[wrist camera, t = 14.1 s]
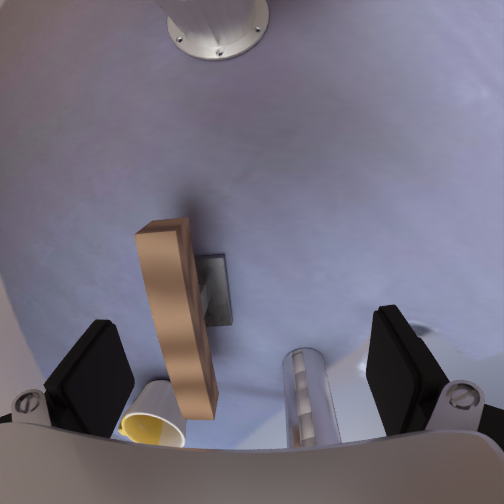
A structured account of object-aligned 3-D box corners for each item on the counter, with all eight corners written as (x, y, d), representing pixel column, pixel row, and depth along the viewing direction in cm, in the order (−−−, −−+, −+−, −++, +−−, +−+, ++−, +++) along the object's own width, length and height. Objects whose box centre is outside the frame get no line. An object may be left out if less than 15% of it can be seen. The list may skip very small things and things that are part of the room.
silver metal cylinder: (279, 377, 49) (284, 516, 25) (286, 345, 46) (297, 494, 23) (318, 379, 49) (341, 514, 25) (327, 349, 46) (361, 490, 23)
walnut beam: (152, 220, 32) (134, 234, 28) (188, 217, 32) (175, 230, 27) (190, 393, 40) (183, 419, 36) (218, 393, 40) (214, 420, 35)
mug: (181, 365, 49) (166, 411, 39) (204, 407, 52) (195, 452, 42) (115, 374, 50) (93, 414, 41) (140, 412, 54) (125, 452, 44)
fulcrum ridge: (166, 257, 42) (147, 282, 35) (224, 253, 42) (215, 279, 34) (179, 321, 46) (165, 353, 38) (232, 319, 45) (226, 353, 38)
